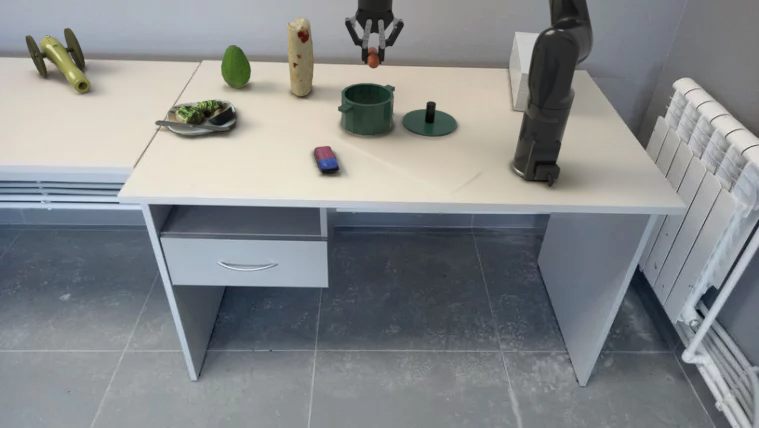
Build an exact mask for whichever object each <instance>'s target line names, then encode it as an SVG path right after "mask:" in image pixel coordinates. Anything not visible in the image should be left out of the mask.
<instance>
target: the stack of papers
mask: <svg viewBox="0 0 759 428" xmlns="http://www.w3.org/2000/svg"><path fill="white" fill-rule="evenodd" d="M539 34H540V33H536V32H524V31H515V32H514V36H513V41H512V48H511V53H510V58H509V62H508V69H509V78H510V85H511V93H512V103H513V110H514V111H516V112H517V111H518V112H524V110H525V105H526V101H527V96H528V85H527V80H528V73H529V67H530V61H531V56H532V51H533V47H534V44H535V41H536V39H537V37H538V36H539Z"/></svg>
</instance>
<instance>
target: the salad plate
mask: <svg viewBox="0 0 759 428" xmlns="http://www.w3.org/2000/svg"><path fill="white" fill-rule="evenodd" d="M237 122H238V115H237V111H236V108H235V106H234V104H233V103H232V102H230V101H229V100H225V99H207V100H201V101H194V102H184V103H179V104H176V105H174V106H172V107H170V108H169V109H168V110H167V112H166V120H162V119H161V120H158V119H157V120H155V122H154V125H155V126H159V127H164V128H167V129H169V130H170V131H171V132H173V133H176V134H179V135H182V136H201V135H202V136H203V135H215V134H222V133H226V132H229V131H230V130H232V129H233V128H234V127H235V126H236V124H237Z"/></svg>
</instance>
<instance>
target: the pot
mask: <svg viewBox="0 0 759 428" xmlns="http://www.w3.org/2000/svg"><path fill="white" fill-rule="evenodd" d="M395 91H396V86H393V85H390V84H386V85H382V84H378V83H373V82H359V83H354V84H350V85H348V86H347V87H346V86H345V87H344V88H343V89H342V90H341V93H340V94H341V97H340V98H341V99H340V100H341V101H340V102H341V105H339V106H338V107H337V111H338V112H340V113H341V117H340V119H341V127H342V128H343V129H344V130H345V131H347V132H349V133H351V134H354V135H359V136H367V137H368V136H369V137H370V136H372V137H373V136H377V135H383V134H385V133H387V132H388V131H390V130H391V128H392V127H393V120H394V107H395V105H394V104H395V93H394V92H395Z"/></svg>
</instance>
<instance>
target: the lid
mask: <svg viewBox="0 0 759 428" xmlns="http://www.w3.org/2000/svg"><path fill="white" fill-rule="evenodd" d="M436 108H437V103H436V102H435V101H429V100H428V101H427V102H426V105H425V108H421V109H419V108H418V109H414V110H412V111H409V112H407V113H406V114H404V115H403V117H402V125H403V127H404V128H405V129H406V130H407V131H409V132H411V133H413V134H415V135H419V136H424V137H441V136H446V135H449V134H452V133H453V132H454V131H455V130H456V128H457V121H456V119H455V118H454V116H452V115H451V114H449V113H447V112H445V111H443V110H442V111H441V110H438V109H436Z"/></svg>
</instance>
